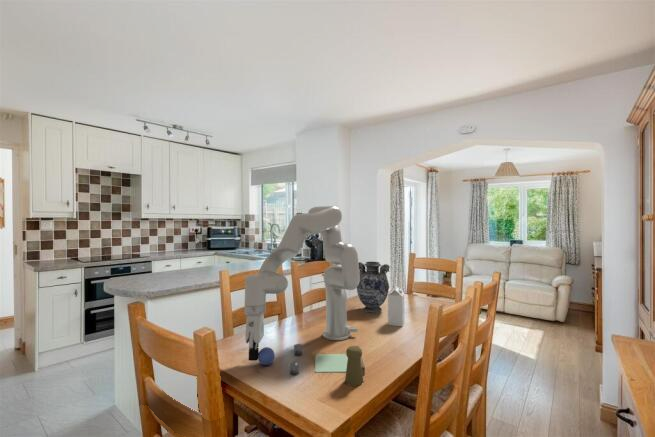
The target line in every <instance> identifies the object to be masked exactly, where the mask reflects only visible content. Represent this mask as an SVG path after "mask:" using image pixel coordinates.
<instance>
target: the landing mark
mask: <svg viewBox="0 0 655 437" xmlns="http://www.w3.org/2000/svg"><path fill="white" fill-rule="evenodd" d="M314 360H315V362H314V364H315V365H314V366H315V367H314V373H346V369H347V361H348V357H347V355H346V353H327V354H326V353H324V354H323V353H322V354H321V353H320V354H319V353H317V354H316V353H315V359H314Z"/></svg>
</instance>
